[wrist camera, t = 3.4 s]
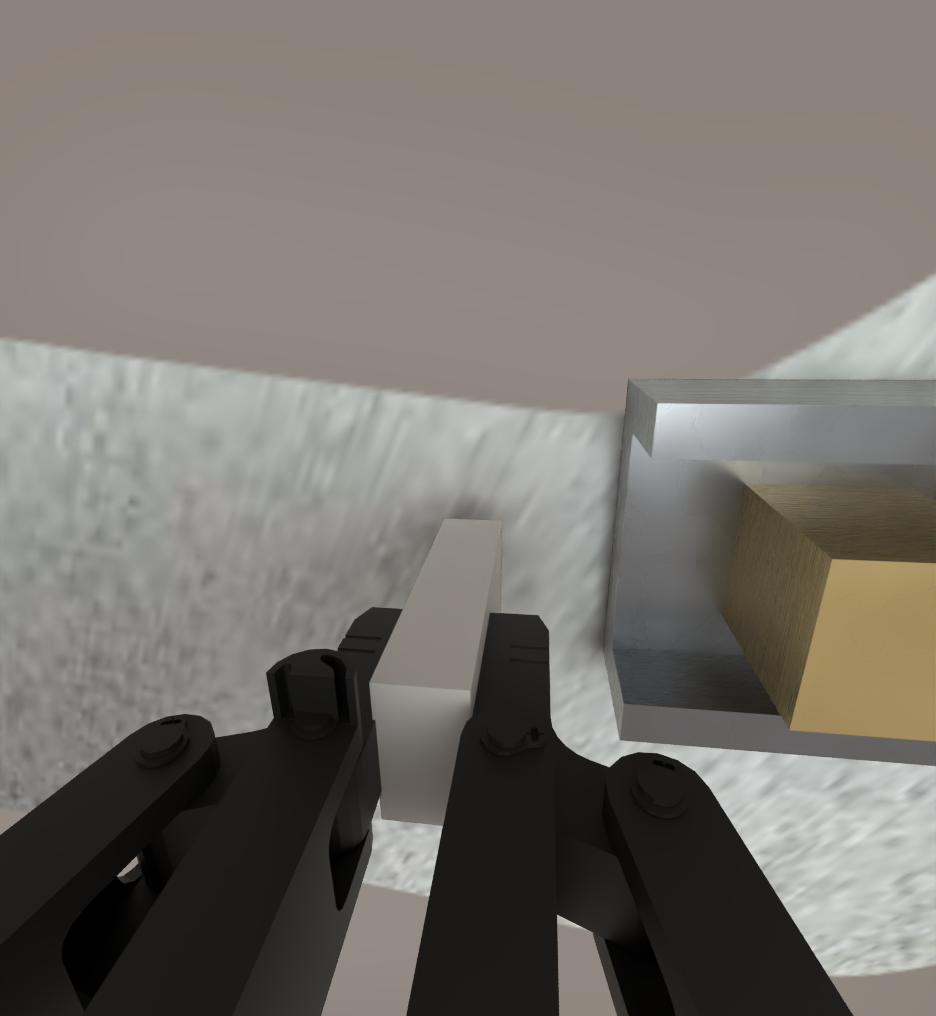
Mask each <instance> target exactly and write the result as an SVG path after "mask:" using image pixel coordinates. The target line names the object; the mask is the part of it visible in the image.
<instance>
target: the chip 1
mask: <svg viewBox="0 0 936 1016" xmlns="http://www.w3.org/2000/svg"><path fill="white" fill-rule="evenodd" d="M722 617H723V618H724V620H725V622H726V624H727V625H728V627H729V629H730V630H731V632H732V634H733V635H734V637H735V639H736V641H737V642H738V644H739V646H740V647H741V649H742V651H743V652H744V654H745V656H746V658H747V659H748V661H749V663H750V664H751V666H752V668H753V669H754V671H755V673H756V675H757V676H758V678H759V680H760V681H761V683H762V685H763V686H764V688H765V690H766V692H767V693H768V695H769V697H770V698H771V700H772V702H773V703H774V705H775V707H776V709H777V710H778V712H779V714H780V715H781V717H782V719H783V720H784V722H785V724H786V726H787V727H788V729H789V730H792V731H805V732H818V733H831V734H844V735H857V736H870V737H883V738H896V739H909V740H922V741H935V742H936V500H934V499H932V498H930V497H928V496H926V495H924V494H922V493H920V492H918V491H916V490H914V489H912V488H879V487H841V486H803V485H764V484H746V485H745V490H744V496H743V501H742V507H741V513H740V518H739V524H738V529H737V535H736V540H735V546H734V552H733V557H732V563H731V568H730V574H729V580H728V585H727V591H726V596H725V602H724V608H723V613H722Z"/></svg>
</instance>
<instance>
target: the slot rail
mask: <svg viewBox="0 0 936 1016" xmlns="http://www.w3.org/2000/svg"><path fill="white" fill-rule="evenodd" d="M746 484H764V485H803V486H841V487H879V488H912V489H914V490H916V491H918V492H920V493H922V494H924V495H926V496H928V497H930V498H932V499H934V500H936V380H740V379H723V380H722V379H717V380H716V379H713V380H712V379H628V388H627V400H626V409H625V420H624V431H623V442H622V453H621V464H620V475H619V486H618V496H617V507H616V518H615V529H614V540H613V551H612V562H611V573H610V584H609V594H608V605H607V616H606V627H605V638H604V649H603V652H604V658H605V663H606V668H607V674H608V679H609V685H610V690H611V695H612V701H613V706H614V712H615V717H616V722H617V728H618V733H619V738H620V740H624V741H636V742H649V743H661V744H673V745H685V746H697V747H710V748H722V749H734V750H746V751H759V752H771V753H783V754H795V755H807V756H820V757H832V758H844V759H856V760H869V761H881V762H893V763H905V764H918V765H930V766H936V742H935V741H922V740H909V739H896V738H883V737H870V736H857V735H844V734H831V733H818V732H805V731H792V730H789V729H788V727H787V726H786V724H785V722H784V720H783V719H782V717H781V715H780V714H779V712H778V710H777V709H776V707H775V705H774V703H773V702H772V700H771V698H770V697H769V695H768V693H767V692H766V690H765V688H764V686H763V685H762V683H761V681H760V680H759V678H758V676H757V675H756V673H755V671H754V669H753V668H752V666H751V664H750V663H749V661H748V659H747V658H746V656H745V654H744V652H743V651H742V649H741V647H740V646H739V644H738V642H737V641H736V639H735V637H734V635H733V634H732V632H731V630H730V629H729V627H728V625H727V624H726V622H725V620H724V618H723V617H722V613H723V608H724V602H725V596H726V591H727V585H728V580H729V574H730V568H731V563H732V557H733V552H734V546H735V540H736V535H737V529H738V524H739V518H740V513H741V507H742V501H743V496H744V490H745V485H746Z"/></svg>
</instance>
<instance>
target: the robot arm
mask: <svg viewBox="0 0 936 1016" xmlns="http://www.w3.org/2000/svg"><path fill="white" fill-rule="evenodd" d="M501 564H502V521H498V520H472V519H445V518H444V521H443V523H442V525H441V527H440V529H439V532H438V534H437V536H436V538H435V540H434V542H433V545H432V547H431V549H430V551H429V553H428V556H427V558H426V560H425V562H424V564H423V567H422V569H421V571H420V573H419V575H418V577H417V580H416V582H415V584H414V586H413V588H412V591H411V593H410V595H409V597H408V599H407V601H406V604H405V606H404V608H403V609H392V608H376V607H372V608H370V609H369V610H367V611H366V612H365V613H363V614H362V615H361V616H359V617H358V618H357V619H355V620H354V622H353V623H352V625H351V627H350V629H349V630H348V632H347V634H346V637H345V638H344V639H343V640H342V642H341V644H340V645H339V647H338V651H334V650H330V649H313V650H306V651H303V652H299V653H295V654H292V655H290V656H288V657H286V658H284V659H282V660H281V661H279V662H277V663H276V664H275V665H274V666H273V667H272V668H271V669H270V670H268V671H267V672H266V675H267V681H268V687H269V692H270V698H271V704H272V710H273V716H274V718H273V720H272V722H271V723H270V725H269V726H268V728H266V729H262V730H258V731H253V732H248V733H242V734H236V735H229V736H223V737H217V738H215V734H214V731H213V728H212V725H211V722H209V721H208V720H206V719H204V718H203V717H201V716H197V715H189V714H182V715H175V716H169V717H165V718H162V719H160V720H157V721H154V722H152V723H149V724H147V725H145V726H144V727H142V728H140V729H139V730H137V731H135V732H134V733H132V734H131V735H129V736H128V737H127V738H125V739H124V740H123V741H121V742H120V743H119V744H118V745H116V746H115V747H114V748H112V749H111V750H110V751H108V752H107V753H106V754H105V755H103V756H102V757H101V758H99V759H98V760H97V761H96V762H94V763H93V764H92V765H90V766H89V767H88V768H86V769H85V770H84V771H83V772H81V773H80V774H79V775H77V776H76V777H75V778H74V779H72V780H71V781H70V782H68V783H67V784H66V785H64V786H63V787H62V788H61V789H59V790H58V791H57V792H55V793H54V794H53V795H52V796H50V797H49V798H48V799H46V800H45V801H44V802H42V803H41V804H40V805H39V806H37V807H36V808H35V809H33V810H32V811H31V812H30V813H28V814H27V815H26V816H25V817H23V818H22V819H21V820H20V821H18V822H17V823H15V824H14V825H13V826H11V827H10V828H9V829H8V830H6V831H5V832H4V833H3V834H1V835H0V1016H321V1013H322V1010H323V1007H324V1004H325V1001H326V997H327V994H328V991H329V987H330V984H331V981H332V978H333V975H334V971H335V968H336V965H337V962H338V958H339V955H340V952H341V949H342V945H343V942H344V939H345V936H346V932H347V929H348V926H349V922H350V920H351V916H352V913H353V910H354V907H355V904H356V900H357V897H358V894H359V890H360V887H361V884H362V881H363V878H364V874H365V871H366V868H367V865H368V861H369V858H370V855H371V851H372V842H373V833H372V823H371V821H372V818H373V815H374V812H375V809H376V806H377V803H378V800H379V797H380V806H381V817H382V819H386V820H395V821H404V822H413V823H422V824H432V825H441V826H443V829H442V834H441V839H440V844H439V849H438V855H437V860H436V865H435V870H434V875H433V881H432V886H431V891H430V896H429V901H428V906H427V912H426V917H425V922H424V927H423V932H422V938H421V943H420V948H419V953H418V958H417V963H416V968H415V974H414V979H413V984H412V989H411V995H410V999H409V1005H408V1010H407V1016H559V991H558V990H559V989H558V988H559V987H558V946H557V945H558V941H557V915H559V916H561V917H563V918H565V919H567V920H569V921H571V922H573V923H575V924H577V925H579V926H581V927H583V928H585V929H587V930H589V931H591V932H593V936H594V940H595V943H596V946H597V950H598V953H599V956H600V960H601V963H602V966H603V970H604V973H605V977H606V979H607V983H608V987H609V990H610V993H611V997H612V1000H613V1003H614V1006H615V1010H616V1013H617V1016H853V1014H852V1013H851V1012H850V1010H849V1009H848V1007H847V1005H846V1003H845V1002H844V1000H843V999H842V997H841V996H840V994H839V992H838V991H837V989H836V988H835V986H834V984H833V983H832V981H831V980H830V978H829V977H828V975H827V973H826V972H825V970H824V969H823V967H822V965H821V964H820V962H819V961H818V959H817V958H816V956H815V954H814V953H813V951H812V950H811V948H810V946H809V945H808V943H807V942H806V940H805V939H804V937H803V935H802V934H801V932H800V931H799V929H798V927H797V926H796V924H795V923H794V921H793V920H792V918H791V916H790V915H789V913H788V912H787V910H786V908H785V907H784V905H783V904H782V902H781V901H780V899H779V897H778V896H777V894H776V893H775V891H774V889H773V888H772V886H771V885H770V883H769V882H768V880H767V878H766V877H765V875H764V874H763V872H762V870H761V869H760V867H759V866H758V864H757V863H756V861H755V859H754V858H753V856H752V855H751V853H750V852H749V850H748V848H747V847H746V845H745V844H744V842H743V840H742V839H741V837H740V836H739V834H738V833H737V831H736V829H735V828H734V826H733V825H732V823H731V821H730V820H729V818H728V817H727V815H726V814H725V812H724V810H723V809H722V807H721V806H720V804H719V802H718V801H717V799H716V798H715V796H714V795H713V793H712V791H711V790H710V788H709V787H708V786H707V785H706V783H705V782H704V781H703V780H702V779H701V778H700V777H699V775H698V774H697V773H696V772H695V771H693V770H692V769H690V768H689V767H687V766H686V765H684V764H682V763H681V762H679V761H678V760H675V759H672V758H670V757H667V756H664V755H661V754H658V753H642V752H637V753H634V754H630V755H627V756H623V757H621V758H620V759H619V760H618V761H616V762H615V763H614V764H613V765H612V766H611V767H607V766H604V765H602V764H599V763H596V762H593V761H591V760H588V759H586V758H584V757H582V756H580V755H578V754H576V753H575V752H573V751H572V750H571V749H569V748H568V747H566V746H565V745H564V744H563V742H562V741H561V740H560V739H559V738H558V737H557V735H556V733H555V731H554V729H553V728H552V723H551V718H550V668H549V630H548V629H547V627H546V626H545V624H544V623H543V621H542V620H541V619H540V617H539V616H538V615H522V614H505V613H501ZM136 856H137V859H138V862H139V863H138V864H137V865H136V866H135V867H134V868H133V869H132V870H131V871H129V872H128V873H126V874H125V875H124V876H121V877H117V875H118V874H119V873H120V872H121V871H122V870H123V869H124V868H125V867H126V866H127V865H128V864H129V863H130V862H131V861H132V860H133V859H134V858H135V857H136Z"/></svg>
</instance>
